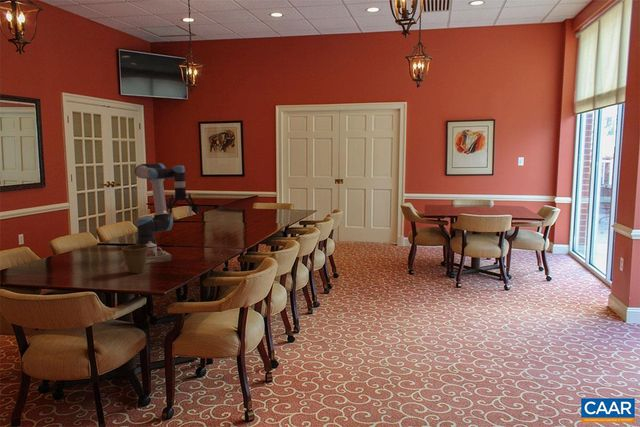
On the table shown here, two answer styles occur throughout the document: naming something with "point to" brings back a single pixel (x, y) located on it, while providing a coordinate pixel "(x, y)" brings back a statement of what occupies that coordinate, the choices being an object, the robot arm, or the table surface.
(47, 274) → the table surface
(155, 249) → the teacup with lid
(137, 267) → the plant pot
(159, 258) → the square tray
